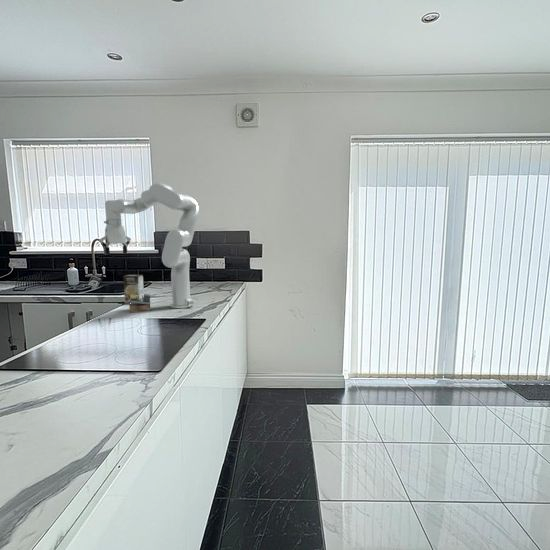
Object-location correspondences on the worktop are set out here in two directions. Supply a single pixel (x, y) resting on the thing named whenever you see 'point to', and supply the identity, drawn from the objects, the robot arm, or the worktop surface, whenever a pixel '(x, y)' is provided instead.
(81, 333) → the worktop surface
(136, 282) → the coffee box
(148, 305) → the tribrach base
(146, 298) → the instrument plate
